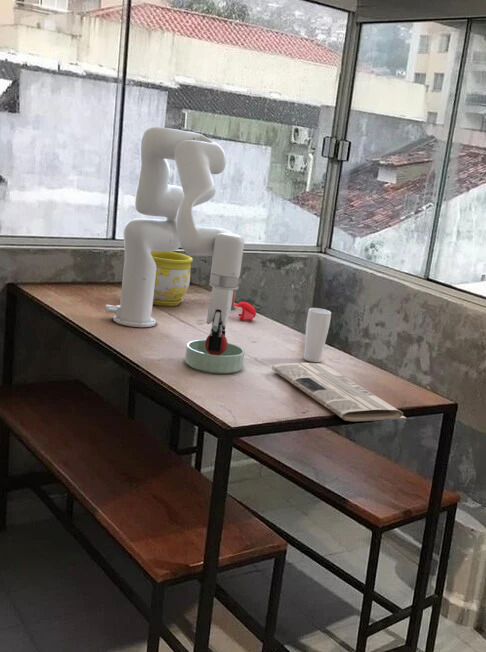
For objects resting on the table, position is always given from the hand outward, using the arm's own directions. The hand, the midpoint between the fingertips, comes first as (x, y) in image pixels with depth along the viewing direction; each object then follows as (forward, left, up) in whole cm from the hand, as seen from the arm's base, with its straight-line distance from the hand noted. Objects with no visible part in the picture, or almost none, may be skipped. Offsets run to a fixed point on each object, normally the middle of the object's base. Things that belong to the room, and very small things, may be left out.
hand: (215, 346), depth 215 cm
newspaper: (+33, -9, -5) cm, 35 cm away
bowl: (0, 0, -5) cm, 5 cm away
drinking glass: (+26, +21, -5) cm, 34 cm away
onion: (0, 0, -3) cm, 3 cm away
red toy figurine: (+2, +60, -5) cm, 60 cm away
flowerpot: (-28, +67, -5) cm, 73 cm away
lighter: (-7, +76, -5) cm, 76 cm away
